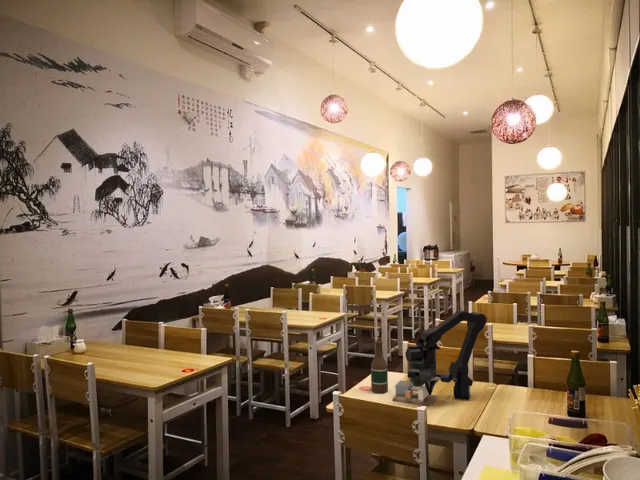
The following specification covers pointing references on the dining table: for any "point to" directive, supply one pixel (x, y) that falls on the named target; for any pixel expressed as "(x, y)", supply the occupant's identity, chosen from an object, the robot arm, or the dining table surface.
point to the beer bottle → (379, 371)
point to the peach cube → (408, 394)
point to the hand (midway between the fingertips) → (430, 394)
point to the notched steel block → (403, 388)
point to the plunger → (420, 392)
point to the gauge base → (414, 399)
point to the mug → (418, 365)
